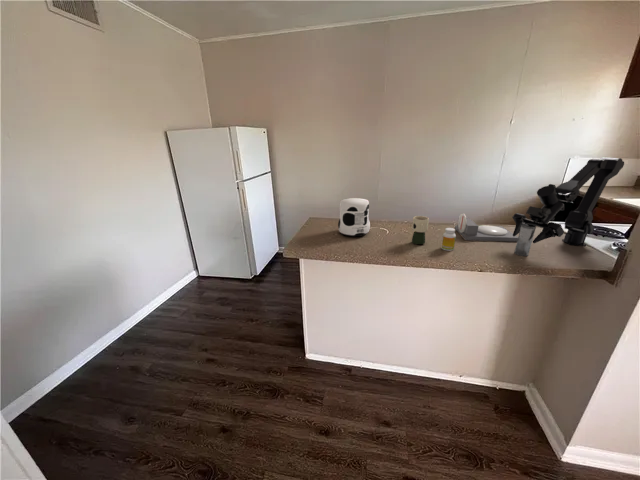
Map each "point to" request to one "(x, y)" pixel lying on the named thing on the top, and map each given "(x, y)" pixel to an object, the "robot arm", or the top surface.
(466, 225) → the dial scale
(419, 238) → the character mug
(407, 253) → the top surface
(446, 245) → the supplement bottle
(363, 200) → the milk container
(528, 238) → the ball
